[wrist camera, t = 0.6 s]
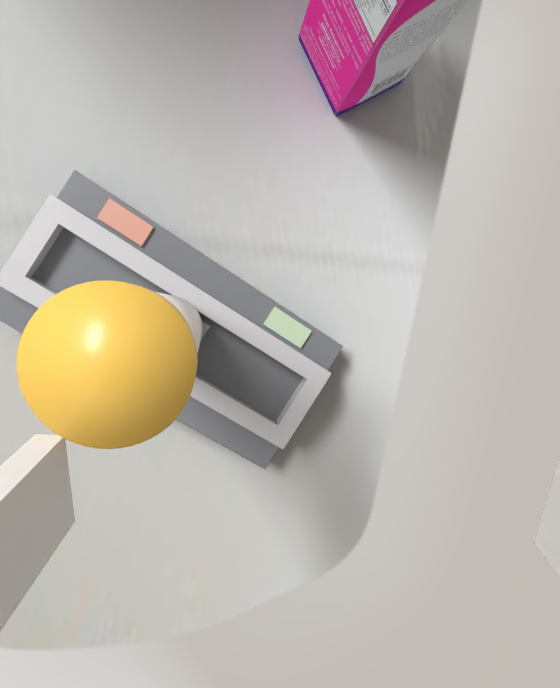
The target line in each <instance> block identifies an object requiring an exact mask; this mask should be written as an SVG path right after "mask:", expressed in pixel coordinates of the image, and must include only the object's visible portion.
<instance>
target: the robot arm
mask: <svg viewBox="0 0 560 688" xmlns="http://www.w3.org/2000/svg"><path fill="white" fill-rule="evenodd" d="M74 522H75V518H74V510H73V502H72V493H71V485H70V476H69V468H68V460H67V451H66V443H65V438H63V437H61V436H59V435H43V434H35V435H34V436H33V437H32V438H31V439H30V440H29V441H27V442H26V443H25V444H24V445H23V446H22V447H21V448H20V449H18V450H17V451H16V452H15V453H14V454H13V455H12V456H11V457H10V458H8V459H7V460H6V461H5V462H4V463H3V464H2V465H1V466H0V631H1V630H2V628H3V627H4V625H5V624H6V622H7V621H8V619H9V618H10V617H11V615H12V614H13V612H14V611H15V609H16V608H17V606H18V605H19V603H20V602H21V600H22V599H23V597H24V596H25V594H26V593H27V591H28V590H29V588H30V587H31V585H32V584H33V582H34V581H35V579H36V578H37V576H38V575H39V574H40V572H41V571H42V569H43V568H44V566H45V565H46V563H47V562H48V560H49V559H50V557H51V556H52V554H53V553H54V551H55V550H56V548H57V547H58V545H59V544H60V542H61V541H62V539H63V538H64V536H65V535H66V533H67V532H68V531H69V529H70V528H71V526H72V525H73V523H74ZM534 543H535V544H536V546H537V547H538V549H539V550H540V551H541V552H542V554H543V555H544V556H545V558H546V559H547V560H548V562H549V563H550V564H551V566H552V567H553V568H554V570H555V571H556V572H557V573H558V575H559V576H560V460H558V463H557V467H556V470H555V473H554V477H553V480H552V483H551V487H550V490H549V494H548V497H547V501H546V504H545V507H544V511H543V514H542V518H541V521H540V525H539V528H538V531H537V535H536V538H535V542H534Z"/></svg>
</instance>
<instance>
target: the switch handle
mask: <svg viewBox="0 0 560 688" xmlns="http://www.w3.org/2000/svg"><path fill="white" fill-rule="evenodd" d="M209 327H210V325H208V324H207V323H205V322H204V321H202V320H201V317H200V315H199V313H198V311H197V309H196V308H195V307H194V306H193V305H192V304H191V303H190V302H188V301H187V300H185V299H183V298H181V297H178V296H174V295H168V294H163V293H158V292H155V291H152V290H150V289H147V288H144V287H142V286H138V285H134V284H129V283H125V282H119V281H111V280H109V281H92V282H85V283H82V284H78V285H75V286H72V287H70V288H67V289H65V290H63V291H61V292H59V293H58V294H56V295H54V296H53V297H51V298H50V299H49V300H48V301H46V302H45V303H44V304H43V305H42V306H41V307H40V308H39V309H38V310H37V311H36V312H35V314H34V315H33V316H32V318H31V319H30V320H29V322H28V324H27V326H26V328H25V329H24V332H23V334H22V337H21V340H20V343H19V348H18V352H17V374H18V379H19V384H20V388H21V390H22V393H23V395H24V398H25V400H26V401H27V403H28V405H29V407H30V408H31V410H32V411H33V412H34V414H35V415H36V416H37V418H38V419H39V420H40V421H41V422H42V423H43V424H44V425H45V426H47V427H48V428H49V429H50V430H52V431H53V432H54V433H56V434H58V435H59V436H61V437H63V438H65V439H67V440H69V441H71V442H74V443H76V444H80V445H83V446H87V447H93V448H101V449H114V448H123V447H128V446H133V445H136V444H139V443H142V442H144V441H146V440H148V439H151V438H153V437H154V436H156V435H157V434H159V433H161V432H162V431H163V430H165V429H166V428H167V427H168V426H169V425H171V423H172V422H173V421H174V420H175V419H176V418H177V417H178V416H179V414H180V413H181V412H182V410H183V409H184V407H185V405H186V404H187V402H188V400H189V398H190V395H191V393H192V390H193V386H194V382H195V378H196V372H197V363H198V357H197V353H198V349H199V345H200V341H201V340H202V338H203V337H204V335H205V334H206V332H207V330H208V329H209Z"/></svg>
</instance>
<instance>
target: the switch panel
mask: <svg viewBox="0 0 560 688" xmlns="http://www.w3.org/2000/svg"><path fill="white" fill-rule="evenodd" d="M109 280H111V281H119V282H125V283H129V284H134V285H138V286H142V287H144V288H147V289H150V290H152V291H155V292H158V293H163V294H168V295H174V296H178V297H181V298H183V299H185V300H187V301H188V302H190V303H191V304H192V305H193V306H194V307H195V308H196V309H197V311H198V313H199V315H200V317H201V320H202V321H204V322H205V323H207V324H208V325H210V327H209V329H208V330H207V332H206V334H205V335H204V337H203V338H202V340H201V341H200V345H199V349H198V353H197V357H198V363H197V372H196V378H195V382H194V386H193V390H192V393H191V395H190V398H189V400H188V402H187V404H186V405H185V407H184V409H183V410H182V412H181V413H180V414H179V416H178V417H177V418H176V420H178V421H180V422H182V423H184V424H185V425H187V426H189V427H191V428H192V429H194V430H196V431H198V432H200V433H201V434H203V435H205V436H207V437H209V438H210V439H212V440H214V441H216V442H217V443H219V444H221V445H223V446H225V447H226V448H228V449H230V450H232V451H233V452H235V453H237V454H239V455H241V456H242V457H244V458H246V459H248V460H249V461H251V462H253V463H255V464H257V465H258V466H260V467H262V468H264V469H266V467H267V466H268V464H269V462H270V461H271V459H272V458H273V456H274V455H275V453H276V451H277V450H278V448H281V449H284V448H285V446H286V445H287V443H288V441H289V440H290V438H291V437H292V435H293V434H294V432H295V430H296V429H297V427H298V426H299V424H300V423H301V421H302V419H303V418H304V416H305V415H306V413H307V412H308V410H309V408H310V407H311V405H312V404H313V402H314V400H315V399H316V397H317V396H318V394H319V393H320V391H321V389H322V388H323V386H324V385H325V383H326V382H327V380H328V378H329V377H330V375H331V374H332V373H330V372H329V371H328V369H329V368H330V366H331V365H332V363H333V361H334V360H335V358H336V357H337V355H338V354H339V352H340V350H341V349H342V347H343V346H342V345H340V344H339V343H337V342H336V341H334V340H333V339H331V338H330V337H328V336H327V335H325V334H324V333H322V332H321V331H319V330H317V329H316V328H314V327H313V326H311V325H310V324H308V323H307V322H305V321H304V320H302V319H301V318H299V317H298V316H296V315H295V314H293V313H292V312H290V311H289V310H287V309H286V308H284V307H283V306H281V305H279V304H278V303H276V302H275V301H273V300H272V299H270V298H269V297H267V296H266V295H264V294H263V293H261V292H260V291H258V290H257V289H255V288H254V287H252V286H251V285H249V284H248V283H246V282H245V281H243V280H241V279H240V278H238V277H237V276H235V275H234V274H232V273H231V272H229V271H228V270H226V269H225V268H223V267H222V266H220V265H219V264H217V263H216V262H214V261H213V260H211V259H210V258H208V257H207V256H205V255H203V254H202V253H200V252H199V251H197V250H196V249H194V248H193V247H191V246H190V245H188V244H187V243H185V242H184V241H182V240H181V239H179V238H178V237H176V236H175V235H173V234H172V233H170V232H169V231H167V230H165V229H164V228H162V227H161V226H159V225H158V224H156V223H155V222H153V221H152V220H150V219H149V218H147V217H146V216H144V215H143V214H141V213H140V212H138V211H137V210H135V209H134V208H132V207H131V206H129V205H128V204H126V203H124V202H123V201H121V200H120V199H118V198H117V197H115V196H114V195H112V194H111V193H109V192H108V191H106V190H105V189H103V188H102V187H100V186H99V185H97V184H96V183H94V182H93V181H91V180H90V179H88V178H86V177H85V176H83V175H82V174H80V173H79V172H77V171H76V170H74V172H73V173H72V175H71V176H70V178H69V179H68V181H67V183H66V184H65V186H64V187H63V189H62V190H61V192H60V194H59V195H58V197H57V198H56V197H55V196H53V195H51V194H50V195H49V196H48V198H47V200H46V201H45V203H44V204H43V206H42V207H41V209H40V211H39V212H38V214H37V215H36V217H35V218H34V220H33V222H32V223H31V225H30V226H29V228H28V229H27V231H26V232H25V234H24V236H23V237H22V239H21V240H20V242H19V243H18V245H17V247H16V248H15V250H14V251H13V253H12V254H11V256H10V257H9V259H8V261H7V262H6V264H5V265H4V267H3V268H2V270H1V272H0V321H2V322H4V323H5V324H7V325H9V326H11V327H13V328H14V329H16V330H18V331H20V332H21V333H23V332H24V329H25V328H26V326H27V324H28V322H29V320H30V319H31V318H32V316H33V315H34V314H35V312H36V311H37V310H38V309H39V308H40V307H41V306H42V305H43V304H44V303H45V302H46V301H48V300H49V299H50V298H51V297H53V296H54V295H56V294H58V293H59V292H61V291H63V290H65V289H67V288H70V287H72V286H75V285H78V284H82V283H85V282H92V281H109Z"/></svg>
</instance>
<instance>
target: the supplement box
mask: <svg viewBox="0 0 560 688" xmlns="http://www.w3.org/2000/svg"><path fill="white" fill-rule="evenodd" d="M466 2H467V0H310V1H309V5H308V8H307V11H306V15H305V18H304V21H303V24H302V28H301V31H300V34H299V40H300V43H301V45H302V47H303V49H304V51H305V53H306V55H307V57H308V59H309V62H310V64H311V66H312V68H313V70H314V72H315V74H316V76H317V78H318V81H319V83H320V85H321V87H322V89H323V91H324V93H325V95H326V97H327V99H328V101H329V103H330V106H331V108H332V110H333V112H334V114H335V115H339V114H341V113H344V112H346V111H347V110H350V109H352V108H354V107H355V106H357V105H359V104H362V103H363V102H365V101H367V100H369V99H371V98H373V97H375V96H377V95H379V94H381V93H382V92H384V91H386V90H388V89H390V88H392V87H394V86H395V85H397V84H399V83H401V82H402V81H403V80H404V78H405V77H406V76H407V74H408V73H409V72H410V70H411V69H412V68H413V67H414V65H415V64H416V63H417V62H418V60H419V59H420V58H421V57H422V55H423V54H424V53H425V52H426V51H427V49H428V48H429V47H430V46H431V44H432V43H433V42H434V41H435V40H436V38H437V37H438V36H439V35H440V33H441V32H442V31H443V30H444V28H445V27H446V26H447V25H448V24H449V22H450V21H451V20H452V19H453V17H454V16H455V15H456V14H457V13H458V11H459V10H460V9H461V8H462V6H463V5H464V4H465V3H466Z"/></svg>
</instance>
